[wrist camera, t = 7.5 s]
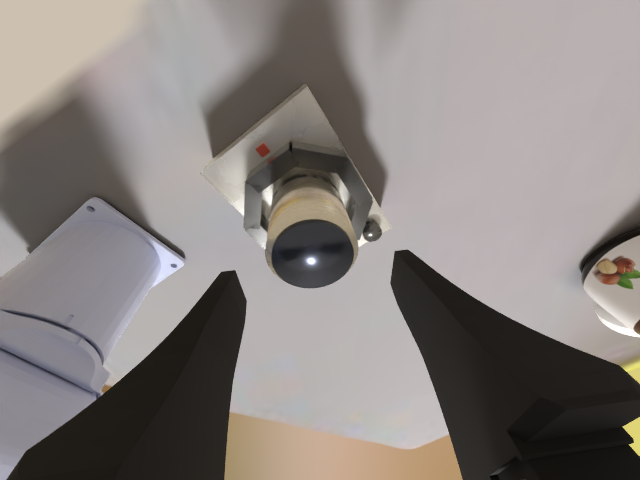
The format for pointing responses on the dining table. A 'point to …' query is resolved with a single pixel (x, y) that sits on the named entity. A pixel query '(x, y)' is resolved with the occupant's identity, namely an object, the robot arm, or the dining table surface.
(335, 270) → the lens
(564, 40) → the dining table surface
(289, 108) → the white knob box
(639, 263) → the spread jar
